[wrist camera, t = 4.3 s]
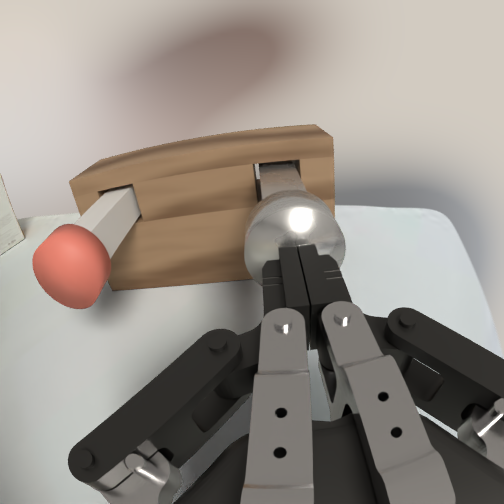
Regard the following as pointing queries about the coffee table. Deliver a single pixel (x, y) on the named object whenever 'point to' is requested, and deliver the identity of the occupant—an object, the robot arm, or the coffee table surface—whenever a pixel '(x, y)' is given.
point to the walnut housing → (200, 201)
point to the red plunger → (85, 249)
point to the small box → (8, 222)
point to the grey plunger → (288, 219)
